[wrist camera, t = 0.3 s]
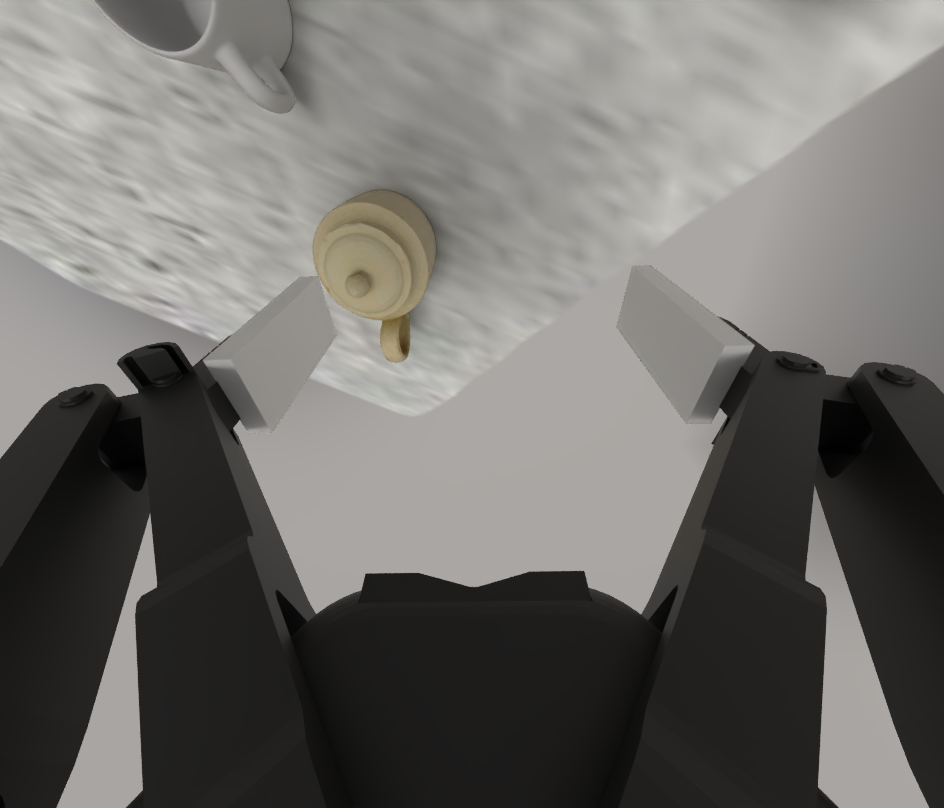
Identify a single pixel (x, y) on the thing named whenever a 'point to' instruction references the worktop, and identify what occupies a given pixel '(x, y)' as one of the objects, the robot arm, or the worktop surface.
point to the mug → (216, 39)
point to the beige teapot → (377, 262)
